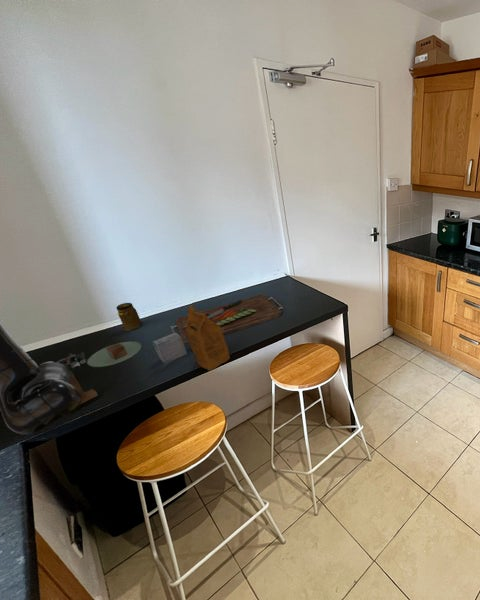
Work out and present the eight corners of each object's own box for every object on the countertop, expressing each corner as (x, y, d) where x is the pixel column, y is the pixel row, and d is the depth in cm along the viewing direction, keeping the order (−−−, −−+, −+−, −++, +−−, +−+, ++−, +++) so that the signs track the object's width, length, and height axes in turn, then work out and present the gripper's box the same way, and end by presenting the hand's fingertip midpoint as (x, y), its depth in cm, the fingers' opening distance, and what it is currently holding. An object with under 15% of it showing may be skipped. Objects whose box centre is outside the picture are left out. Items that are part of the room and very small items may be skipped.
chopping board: (178, 350, 123) (175, 343, 122) (168, 323, 142) (166, 317, 140) (288, 313, 149) (287, 308, 148) (268, 294, 167) (267, 289, 166)
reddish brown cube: (115, 360, 116) (110, 351, 114) (110, 356, 118) (105, 348, 116) (127, 354, 119) (123, 345, 118) (122, 351, 121) (118, 342, 119)
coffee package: (218, 348, 124) (202, 299, 114) (234, 360, 118) (219, 309, 108) (191, 361, 117) (172, 309, 107) (207, 374, 111) (188, 320, 101)
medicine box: (182, 350, 123) (175, 331, 119) (187, 354, 121) (180, 335, 117) (159, 360, 118) (151, 341, 114) (165, 365, 115) (156, 345, 111)
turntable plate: (100, 374, 111) (99, 372, 110) (80, 360, 118) (79, 358, 117) (150, 350, 123) (149, 348, 123) (129, 339, 130) (128, 337, 130)
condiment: (123, 329, 137) (111, 305, 131) (146, 321, 143) (136, 298, 137) (128, 335, 133) (116, 310, 127) (151, 327, 139) (141, 303, 133)
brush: (72, 413, 95) (48, 378, 88) (67, 409, 96) (44, 374, 90) (100, 398, 100) (80, 364, 94) (96, 395, 102) (75, 361, 95)
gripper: (78, 353, 78) (77, 340, 89) (-7, 386, 69) (3, 367, 80) (95, 378, 80) (91, 362, 91) (15, 413, 71) (22, 390, 82)
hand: (50, 364), depth 86 cm, fingers open, 8 cm apart
